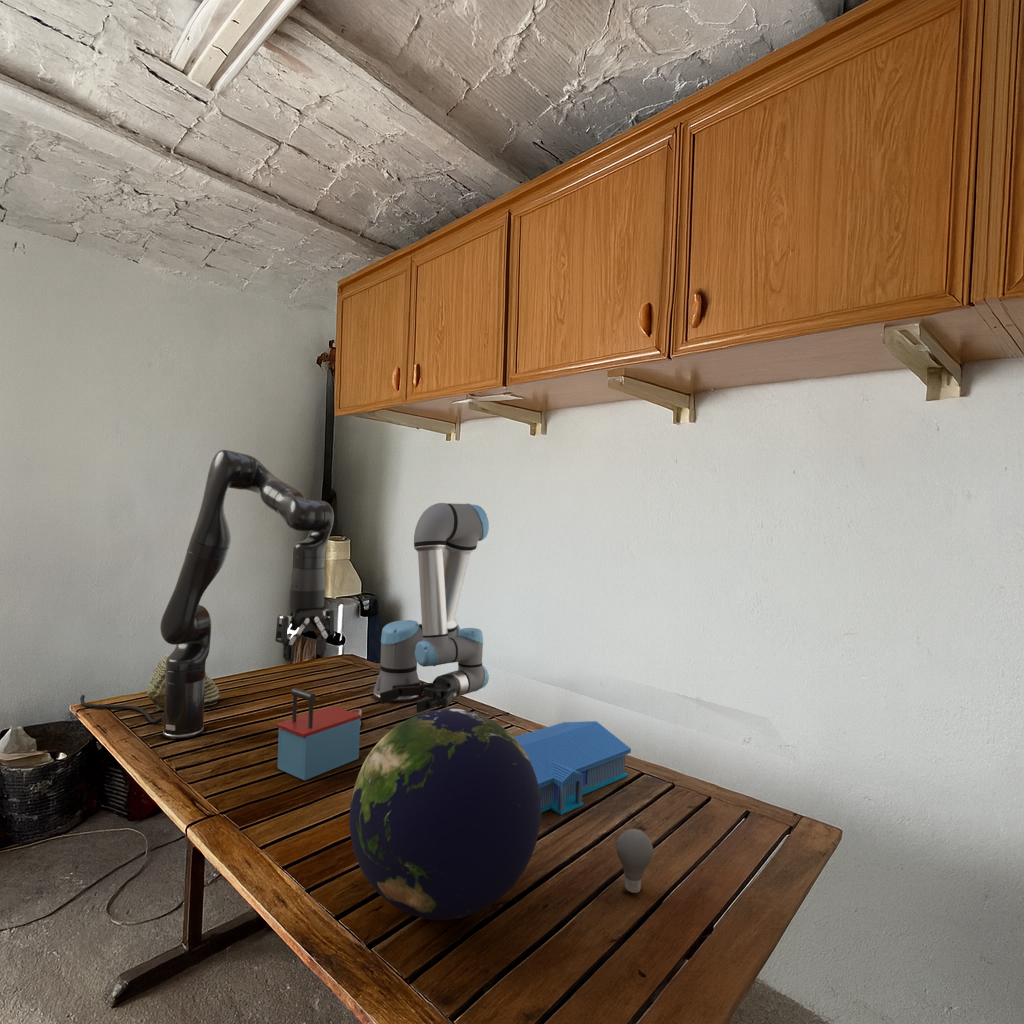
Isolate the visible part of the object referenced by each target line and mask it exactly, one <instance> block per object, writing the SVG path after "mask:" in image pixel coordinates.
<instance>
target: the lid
mask: <svg viewBox="0 0 1024 1024" xmlns="http://www.w3.org/2000/svg"><path fill="white" fill-rule="evenodd" d="M290 695H292V715H291V716H292V717H291V718H289V719H286V720H284V721H280V722H277V723H276V728H278V729H279V728H281V729H284V730H286V731H289V732H291V733H294V734H296V735H299V736H302V737H307V736H309V735H312V734H315V733H318V732H321V731H324V730H327V729H330V728H333V727H336V726H339V725H342V724H345V723H348V722H350V721H353V720H356V719H359V718H360V719H361V717H360V715H359V714H356V713H353V712H350V711H351V710H347V709H344V708H341V707H338V706H335V705H333V706H329V707H326V708H322V709H320V710H316V711H314V701H315V700H316V698H317V695H316V694H315V693H313V692H310V691H306V690H304V689H301V688H297V687H293V688H292V689H291V691H290ZM298 698H300V699H303V700H306V701H308V713H306V714H303V715H300V716H298V715H297V712H298Z"/></svg>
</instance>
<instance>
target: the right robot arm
mask: <svg viewBox="0 0 1024 1024" xmlns="http://www.w3.org/2000/svg"><path fill="white" fill-rule="evenodd" d="M489 530H490V521H489V517H488V514H487V513H486V511H485V509H484V508H483V507H482V506H480V505H478V504H471V503H452V502H451V503H446V502H437V503H433V504H431V505H430V506H428V507H427V508H425V510H424V511H423V512H422V513H421V514H420V517H419V518H418V520H417V522H416V526H415V529H414V535H413V548H414V550H415V551H416V552H417V557H418V558H417V560H418V576H419V577H418V579H419V594H420V595H419V597H420V613H421V616H420V617H421V623H419V622H418V621H417V620H414V619H413V620H412V619H406V620H396V621H391V622H389V623H387V624H385V625H384V626H383V627H382V630H381V638H380V664H379V665H380V667H379V670H380V671H379V673H378V676H377V679H376V681H375V685H374V687H373V692H372V694H373V698H375V699H376V700H378V701H379V703H380V704H383V703H407V702H412V701H415V700H417V701H416V707H415V708H416V709H415V711H416V712H415V713H418V714H421V713H423V712H426V711H428V710H431V709H434V708H440V707H442V709H447V708H448V707H449V705H450V704H451V703H452V702H453V701H454V700H457V699H458V698H459V697H461V696H465V695H467V694H471V693H473V692H474V693H475V692H477V691H480V690H481V689H483V688H485V687H486V686H487V685H488V683H489V679H490V675H489V672H488V669H487V668H486V667H485V666H484V665H483V651H484V649H483V648H484V635H483V634H484V633H483V631H482V629H481V628H476V627H464V628H463V627H462V628H460V625H459V624H458V623H459V622H458V620H457V618H456V613H457V609H458V605H459V600H460V597H461V592H462V588H463V585H464V580H465V576H466V572H467V568H468V564H469V560H470V556H471V553H473V552H474V551H476V550H477V548H478V543H479V542H481V541H483V540H485V539H486V538H487V537H488V535H489ZM455 663H457V667H458V668H457V670H454V671H453V670H452V671H450V672H447V673H444V674H441V675H437V676H436V677H435V678H434V679H433V680H432V682H428V683H425V682H424V681H420V678H419V675H418V665H419V666H421V667H436V666H440V665H446V664H455ZM419 698H424V699H422V700H419V701H418V699H419Z"/></svg>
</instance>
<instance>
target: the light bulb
mask: <svg viewBox="0 0 1024 1024" xmlns="http://www.w3.org/2000/svg"><path fill="white" fill-rule="evenodd" d="M615 849H616V854H617V857H618V859H619V861H620V863H621V865H622V867H623V873H624V874H623V875H624V876H625V878H624V888H625V890H627V891H628V892H630V893H634V894H635V893H639V892H640V891H641V889H642V887H641V886H642V879H643V877H644V875H645V871H646V868H647V867H648V866H649V864H650V863H651V861H652V859H653V855H654V847H653V843H652V841H651V838H649V836H648V835H647V834H646V833H645V832H643V831H642V830H641V829H636V828H629V829H627V830H625V831H623V832H622V833H621V834H620V835H619V837H618V839H617V841H616V847H615Z"/></svg>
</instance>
